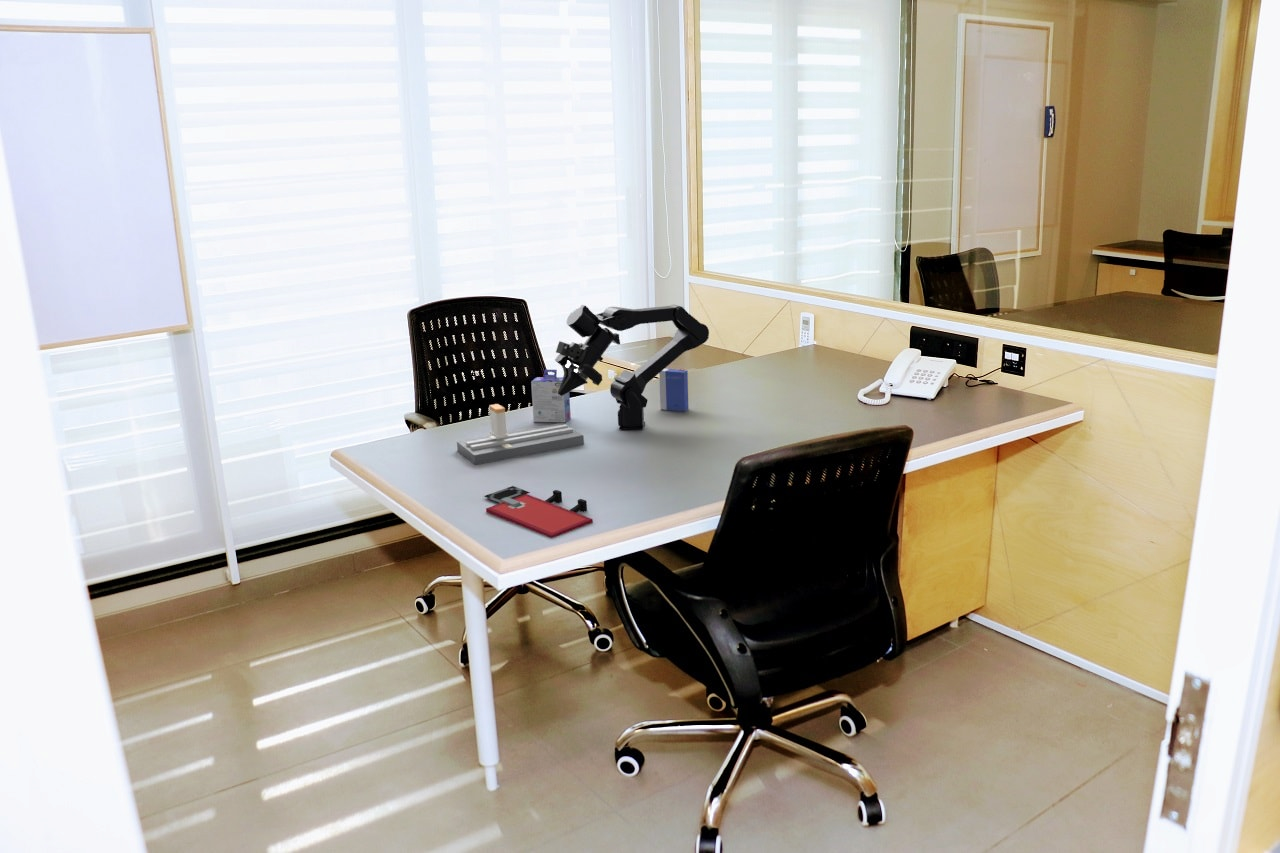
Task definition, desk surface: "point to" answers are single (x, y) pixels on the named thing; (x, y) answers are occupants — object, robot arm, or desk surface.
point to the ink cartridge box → (549, 399)
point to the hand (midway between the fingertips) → (559, 394)
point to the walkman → (674, 389)
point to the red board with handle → (537, 511)
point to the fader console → (519, 443)
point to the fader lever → (498, 421)
